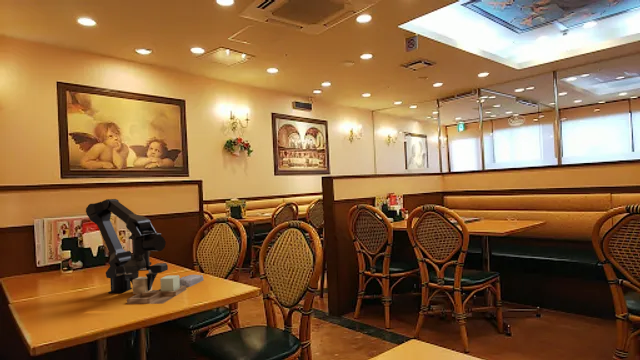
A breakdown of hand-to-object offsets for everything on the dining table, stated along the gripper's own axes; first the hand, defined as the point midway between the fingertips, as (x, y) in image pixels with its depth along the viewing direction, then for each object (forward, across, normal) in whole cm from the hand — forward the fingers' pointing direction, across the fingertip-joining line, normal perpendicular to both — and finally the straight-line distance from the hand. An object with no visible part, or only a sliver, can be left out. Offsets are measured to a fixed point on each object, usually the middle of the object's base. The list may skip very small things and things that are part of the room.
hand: (142, 290), depth 152 cm
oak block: (+1, 0, 0) cm, 1 cm away
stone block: (+2, +12, +12) cm, 17 cm away
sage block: (0, +13, -2) cm, 13 cm away
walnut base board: (+1, +10, -7) cm, 12 cm away
